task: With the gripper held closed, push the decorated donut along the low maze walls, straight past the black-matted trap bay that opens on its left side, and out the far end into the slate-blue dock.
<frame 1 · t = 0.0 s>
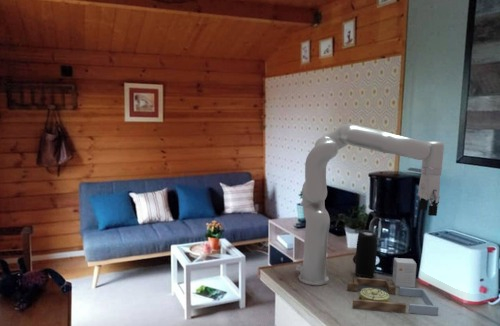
hand: (427, 212, 170), 31 cm above the worktop, tool pointing down, fingers open, 9 cm apart
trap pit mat: (371, 289, 167), resting in low maze walls
low maze walls: (390, 301, 157), on the worktop
portable speaker: (364, 275, 182), on the worktop
dock: (415, 304, 156), on the worktop
small box: (403, 285, 174), on the worktop
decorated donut: (374, 301, 157), on the worktop
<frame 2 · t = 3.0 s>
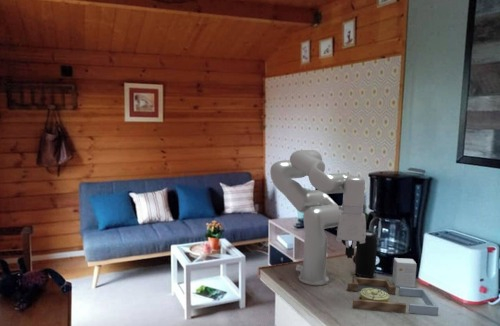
hand: (349, 257, 156), 16 cm above the worktop, tool pointing down, fingers closed
nothing on the worktop moved.
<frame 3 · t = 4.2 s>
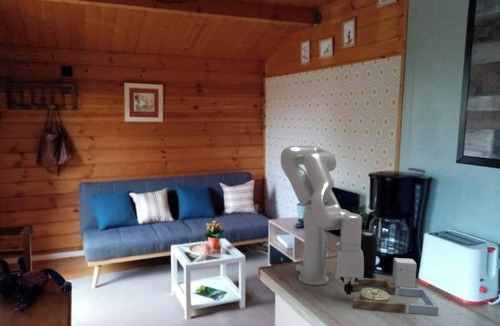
hand: (348, 293, 157), 2 cm above the worktop, tool pointing down, fingers closed
nothing on the worktop moved.
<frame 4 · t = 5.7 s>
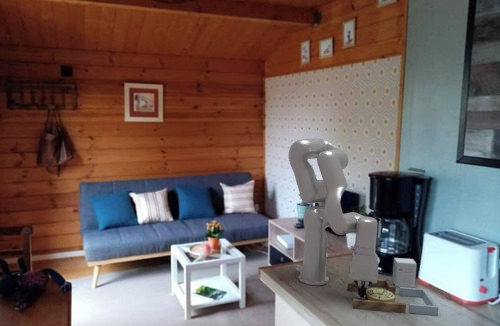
hand: (361, 296, 157), 1 cm above the worktop, tool pointing down, fingers closed
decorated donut: (379, 301, 157), on the worktop
everything else where it was.
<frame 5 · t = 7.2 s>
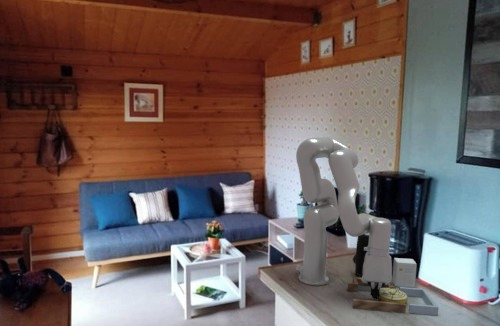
hand: (374, 297, 157), 1 cm above the worktop, tool pointing down, fingers closed
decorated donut: (391, 301, 158), on the worktop
everything else where it was.
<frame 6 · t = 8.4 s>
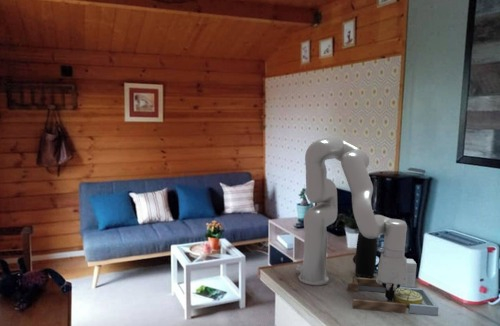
hand: (389, 299, 156), 1 cm above the worktop, tool pointing down, fingers closed
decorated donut: (406, 302, 157), on the worktop, touching dock, gripper
everything else where it was.
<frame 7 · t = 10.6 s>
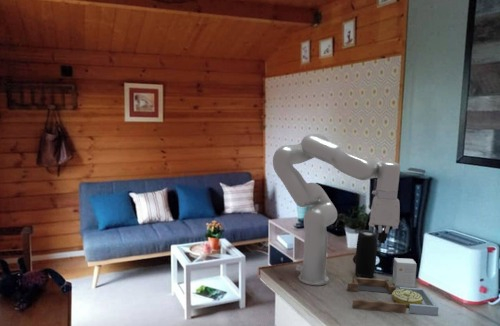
hand: (381, 242, 156), 22 cm above the worktop, tool pointing down, fingers closed
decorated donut: (406, 302, 157), on the worktop
everything else where it was.
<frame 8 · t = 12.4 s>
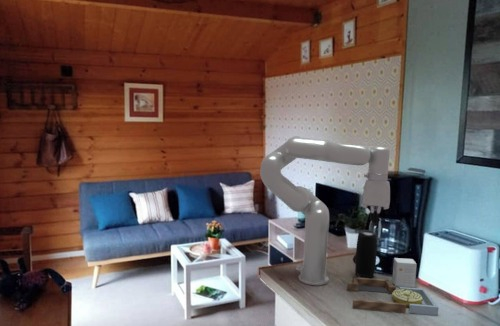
hand: (373, 222, 167), 27 cm above the worktop, tool pointing down, fingers closed
nothing on the worktop moved.
at the end: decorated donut 3.1 cm from the dock (horizontally); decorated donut moved 12.5 cm from its start; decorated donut tilted 0° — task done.
